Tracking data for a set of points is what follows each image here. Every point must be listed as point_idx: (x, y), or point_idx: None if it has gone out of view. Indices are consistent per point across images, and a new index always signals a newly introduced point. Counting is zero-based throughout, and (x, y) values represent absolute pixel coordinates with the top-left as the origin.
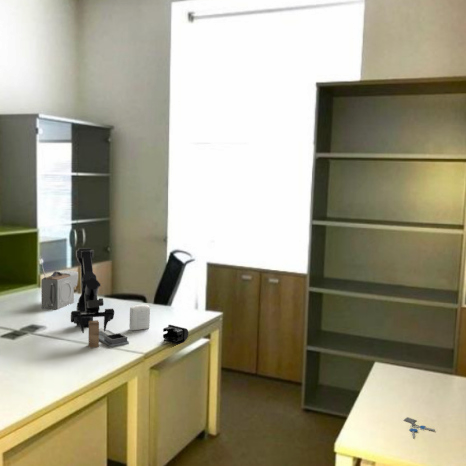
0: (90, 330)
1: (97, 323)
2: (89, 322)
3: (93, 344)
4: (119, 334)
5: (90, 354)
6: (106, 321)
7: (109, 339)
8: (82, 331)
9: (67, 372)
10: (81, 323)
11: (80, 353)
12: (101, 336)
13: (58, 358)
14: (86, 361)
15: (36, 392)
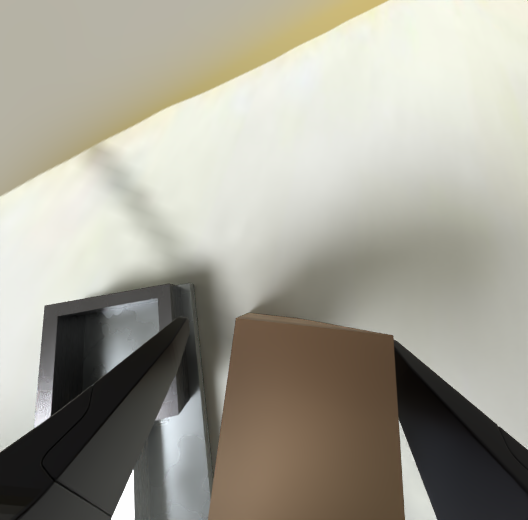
0: (329, 324)
1: (261, 319)
2: (394, 395)
3: (279, 316)
4: (52, 413)
5: (310, 218)
6: (65, 419)
7: (173, 317)
8: (402, 350)
9: (405, 90)
10: (510, 457)
11: (351, 248)
12: (177, 511)
13: (443, 223)
14: (337, 151)
15: (474, 18)
